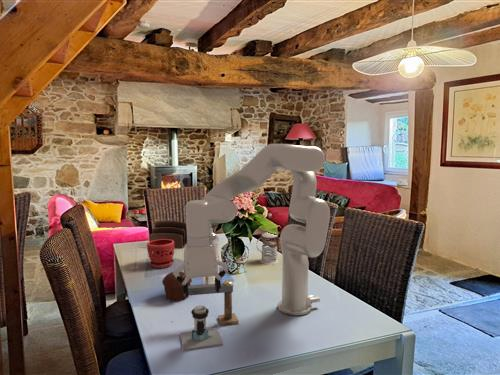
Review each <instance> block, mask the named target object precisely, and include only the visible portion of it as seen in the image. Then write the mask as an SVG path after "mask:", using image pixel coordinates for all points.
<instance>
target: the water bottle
mask: <svg viewBox="0 0 500 375" xmlns="http://www.w3.org/2000/svg"><path fill="white" fill-rule="evenodd" d="M211 233H212V235H216V239H215V240H213V241H212V242H213V243H214V246H215V250H216V257H217V260H219V261H220V256H219V254H220V251H219V248H220V247H219V241H220V239H219V237H218V235H217V234H216V233H215V232H214V229H213V228H212V227H211ZM219 272H220V266H219V265H218V273H219ZM206 284H215V276H214V275H213V276H206V277H202V285H206Z"/></svg>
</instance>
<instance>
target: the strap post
mask: <svg viewBox="0 0 500 375" xmlns="http://www.w3.org/2000/svg"><path fill="white" fill-rule="evenodd" d="M223 295H224V296H223V299H224V300H223V301H224V302H223V303H224V305H223V306H224V308H223V309H224V314H218V315H217V319H218V321H219V323H220V326H221V327H222V326H230V325H238V324H240V322H239V319H238V317H237V315H236V313H235V312H234V313H233V292H226V293H223Z"/></svg>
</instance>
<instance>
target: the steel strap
mask: <svg viewBox="0 0 500 375" xmlns="http://www.w3.org/2000/svg"><path fill="white" fill-rule="evenodd" d="M233 283H234V281H232V280H230V279H226V280H224V281H223V283H221V289H219V293H217V292H216V290H215V284H206V285H203V284H195V285H193V284H192V285H190V286H188V295H189V296H197V295H198V296H201V295H211V294H222V293H223V294H224V293H226V292H232V293H233V292H234V284H233ZM184 296H186V295H185V294H184Z"/></svg>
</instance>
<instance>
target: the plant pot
mask: <svg viewBox="0 0 500 375" xmlns="http://www.w3.org/2000/svg"><path fill="white" fill-rule="evenodd" d="M160 244H161V245H160ZM146 250H147V253H148V258H149V260H150V262H149V265H150V266H151V267H152V268H155V269H164V268H168V267H171V266H172V265H173V264H174V262H175V260H174V255H175V248H174V241H173V240H170V239H159V240H153V241H150V242H149V241H148V242H147V243H146Z"/></svg>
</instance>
